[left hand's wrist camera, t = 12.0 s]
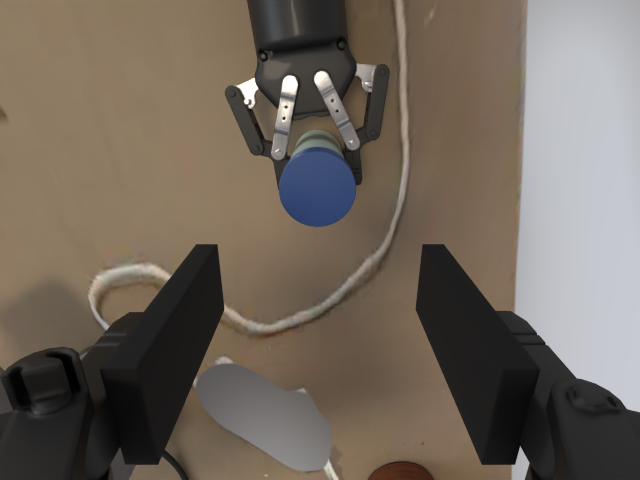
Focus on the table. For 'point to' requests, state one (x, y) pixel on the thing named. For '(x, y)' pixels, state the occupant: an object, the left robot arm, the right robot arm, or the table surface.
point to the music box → (401, 472)
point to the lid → (317, 187)
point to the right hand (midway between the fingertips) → (321, 192)
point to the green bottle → (318, 141)
